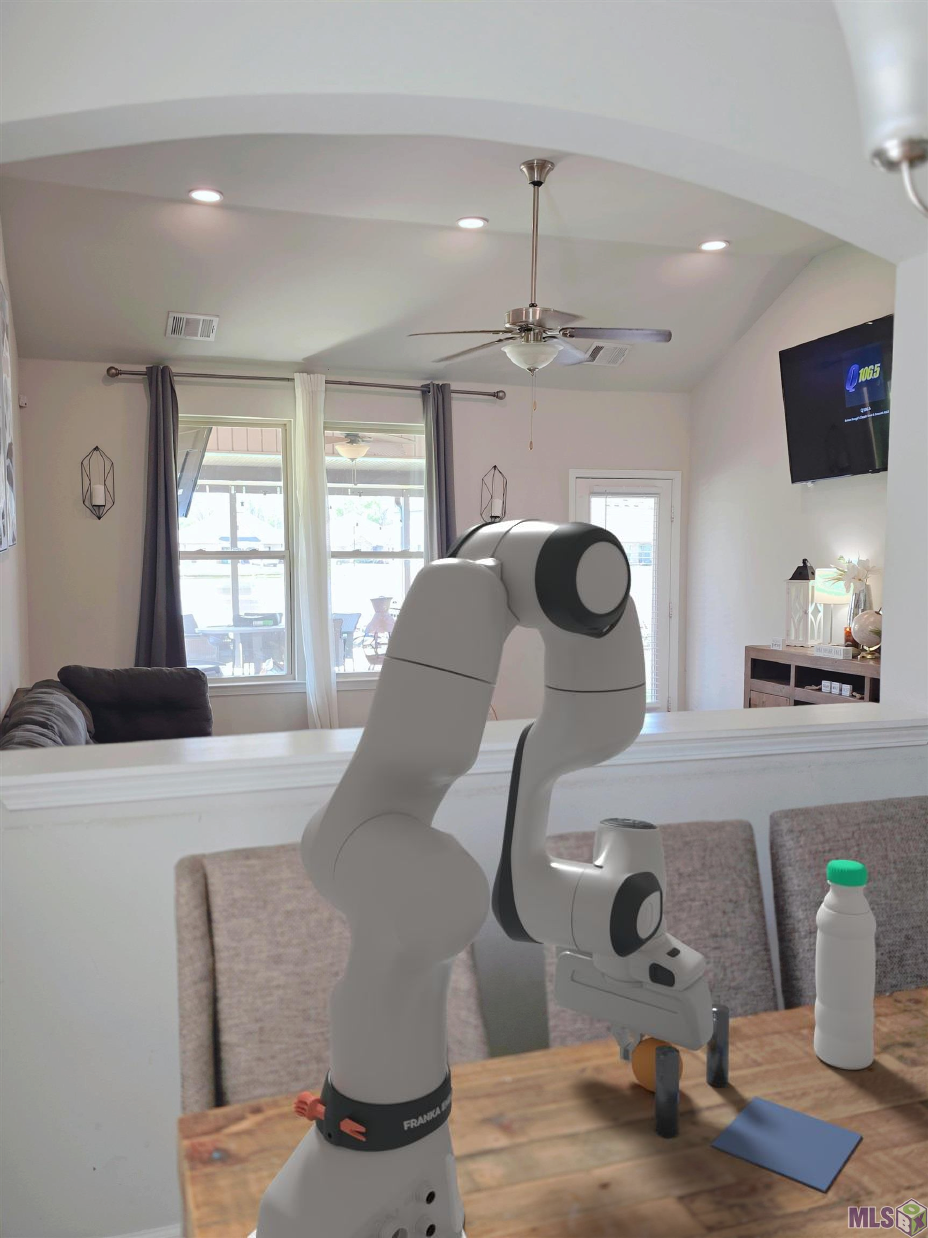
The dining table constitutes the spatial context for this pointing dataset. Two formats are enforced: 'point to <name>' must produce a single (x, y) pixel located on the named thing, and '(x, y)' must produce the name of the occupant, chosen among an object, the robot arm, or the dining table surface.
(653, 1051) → the ball
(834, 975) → the water bottle
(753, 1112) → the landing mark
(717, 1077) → the far post
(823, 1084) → the dining table surface
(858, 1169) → the dining table surface
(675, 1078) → the near post
